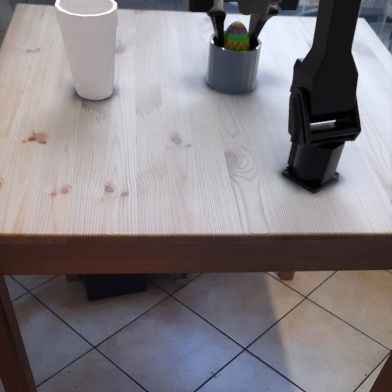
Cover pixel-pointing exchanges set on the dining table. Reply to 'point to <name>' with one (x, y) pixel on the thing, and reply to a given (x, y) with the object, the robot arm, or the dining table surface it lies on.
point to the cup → (232, 68)
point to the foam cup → (89, 44)
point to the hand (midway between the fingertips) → (234, 52)
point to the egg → (236, 37)
